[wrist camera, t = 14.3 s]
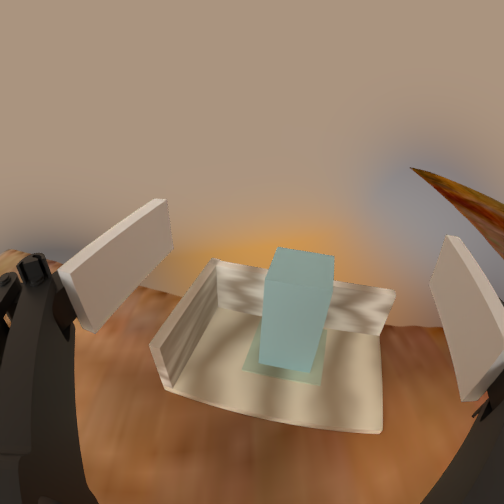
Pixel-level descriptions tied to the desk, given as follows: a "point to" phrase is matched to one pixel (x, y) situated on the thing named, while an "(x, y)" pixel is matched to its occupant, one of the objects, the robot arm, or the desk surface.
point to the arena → (270, 377)
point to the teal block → (295, 308)
